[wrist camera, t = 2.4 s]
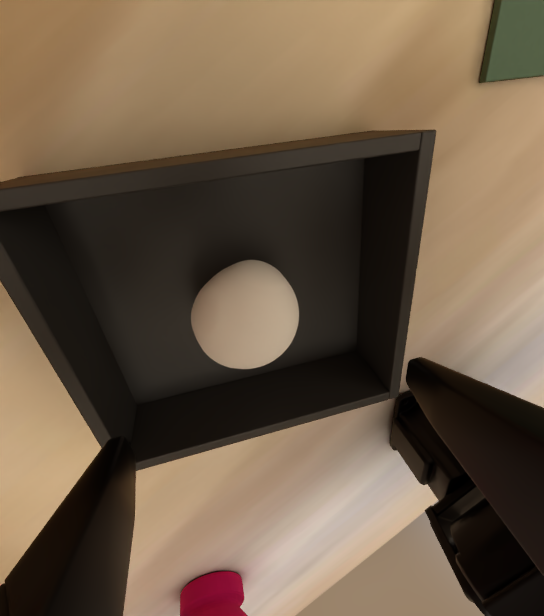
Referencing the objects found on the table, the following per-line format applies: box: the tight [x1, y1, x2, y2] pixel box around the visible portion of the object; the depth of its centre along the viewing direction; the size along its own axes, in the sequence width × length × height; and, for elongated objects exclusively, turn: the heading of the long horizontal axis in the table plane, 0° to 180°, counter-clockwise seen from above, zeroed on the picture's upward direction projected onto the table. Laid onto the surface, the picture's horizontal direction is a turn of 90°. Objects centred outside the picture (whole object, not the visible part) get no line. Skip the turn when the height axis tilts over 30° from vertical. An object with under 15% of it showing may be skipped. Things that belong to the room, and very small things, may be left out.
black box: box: [0, 130, 436, 471], centre depth 15 cm, size 15×13×4 cm
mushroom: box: [191, 260, 299, 369], centre depth 14 cm, size 5×5×5 cm
